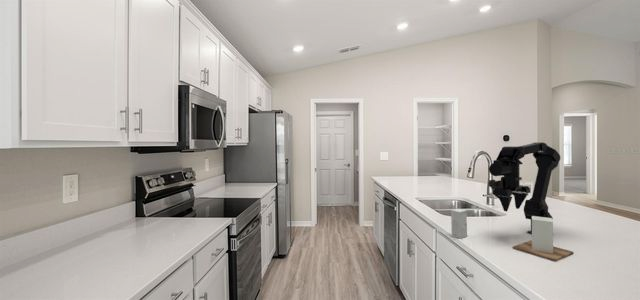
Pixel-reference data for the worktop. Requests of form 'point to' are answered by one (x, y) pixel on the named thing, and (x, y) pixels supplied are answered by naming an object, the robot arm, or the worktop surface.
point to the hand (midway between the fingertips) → (511, 210)
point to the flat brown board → (554, 256)
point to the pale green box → (542, 234)
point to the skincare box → (459, 223)
